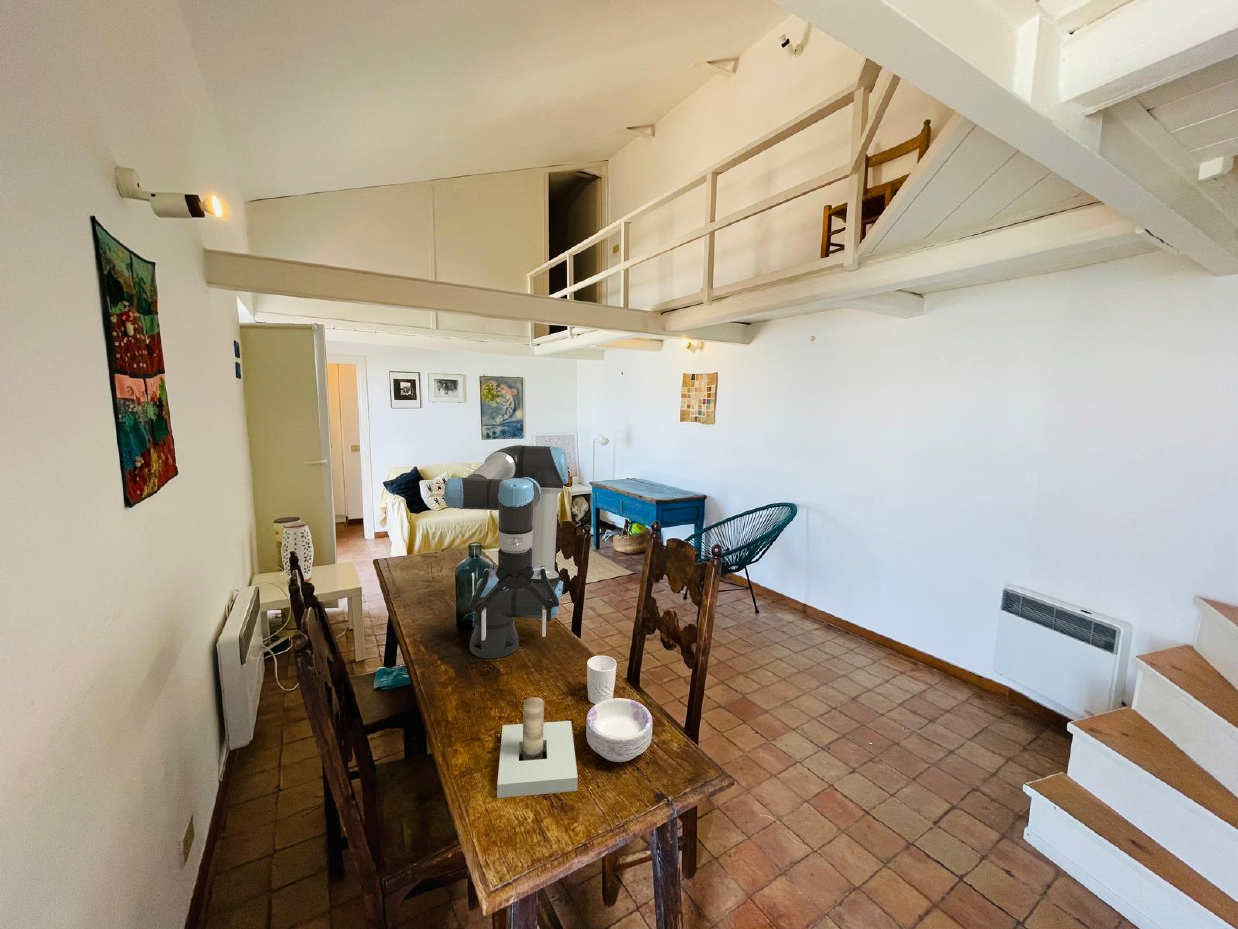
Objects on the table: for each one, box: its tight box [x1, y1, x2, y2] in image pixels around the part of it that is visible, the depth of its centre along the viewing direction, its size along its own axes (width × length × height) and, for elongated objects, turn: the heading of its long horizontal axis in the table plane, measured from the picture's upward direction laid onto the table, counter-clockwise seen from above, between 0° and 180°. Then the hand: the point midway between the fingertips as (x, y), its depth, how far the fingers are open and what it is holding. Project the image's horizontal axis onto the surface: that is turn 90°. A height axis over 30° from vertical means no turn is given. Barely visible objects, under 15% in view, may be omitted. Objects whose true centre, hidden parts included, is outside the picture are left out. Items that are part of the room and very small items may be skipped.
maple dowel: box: [521, 696, 545, 761], centre depth 107 cm, size 5×5×14 cm
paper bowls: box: [585, 697, 653, 763], centre depth 114 cm, size 15×15×8 cm
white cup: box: [586, 655, 618, 705], centre depth 132 cm, size 8×8×10 cm
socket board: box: [496, 720, 578, 799], centre depth 108 cm, size 18×16×3 cm
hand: (514, 635), depth 114 cm, fingers open, 13 cm apart
